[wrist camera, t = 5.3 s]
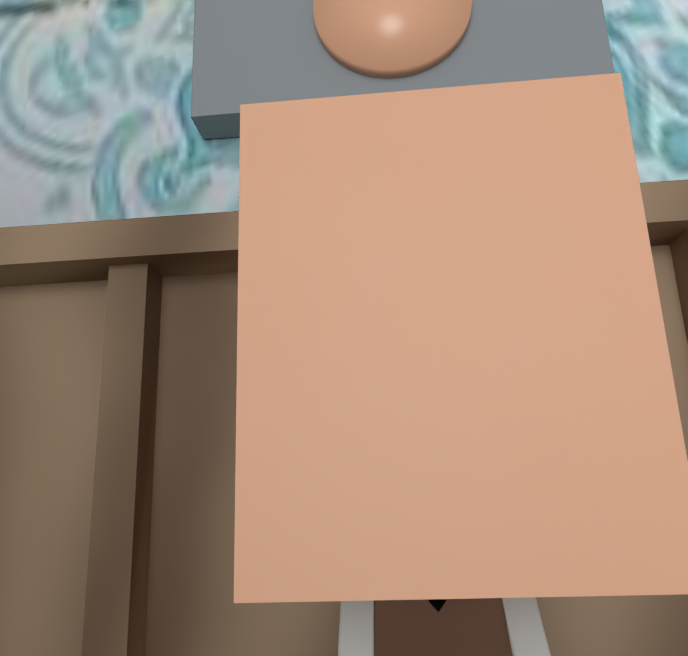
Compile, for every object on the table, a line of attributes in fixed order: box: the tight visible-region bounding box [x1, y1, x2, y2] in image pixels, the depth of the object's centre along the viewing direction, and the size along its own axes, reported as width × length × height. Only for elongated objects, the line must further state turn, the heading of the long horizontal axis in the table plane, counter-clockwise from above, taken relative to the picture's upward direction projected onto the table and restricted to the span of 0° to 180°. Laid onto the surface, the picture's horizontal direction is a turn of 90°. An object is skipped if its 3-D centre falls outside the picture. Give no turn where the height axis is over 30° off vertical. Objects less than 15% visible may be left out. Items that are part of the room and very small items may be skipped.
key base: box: [0, 180, 688, 656], centre depth 15 cm, size 34×12×3 cm, turn 91°
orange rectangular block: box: [234, 73, 688, 603], centre depth 10 cm, size 4×5×9 cm
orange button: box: [191, 0, 614, 139], centre depth 19 cm, size 12×6×2 cm, turn 91°
